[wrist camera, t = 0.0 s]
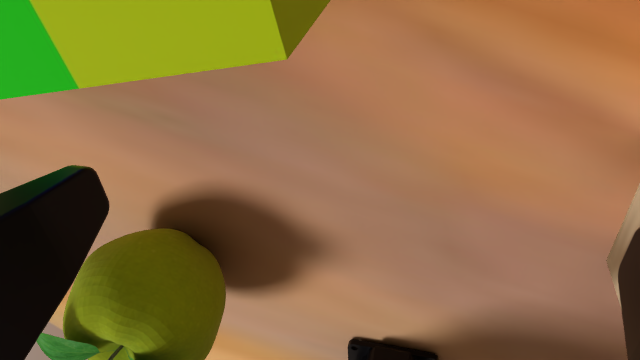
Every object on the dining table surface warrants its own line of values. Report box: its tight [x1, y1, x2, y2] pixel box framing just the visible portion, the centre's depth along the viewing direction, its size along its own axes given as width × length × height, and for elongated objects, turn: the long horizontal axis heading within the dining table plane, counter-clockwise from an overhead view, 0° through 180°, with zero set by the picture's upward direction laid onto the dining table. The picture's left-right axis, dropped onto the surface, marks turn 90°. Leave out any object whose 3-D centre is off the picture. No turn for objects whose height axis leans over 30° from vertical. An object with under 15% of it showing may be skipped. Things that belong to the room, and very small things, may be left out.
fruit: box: [37, 228, 226, 360], centre depth 30 cm, size 9×9×10 cm
